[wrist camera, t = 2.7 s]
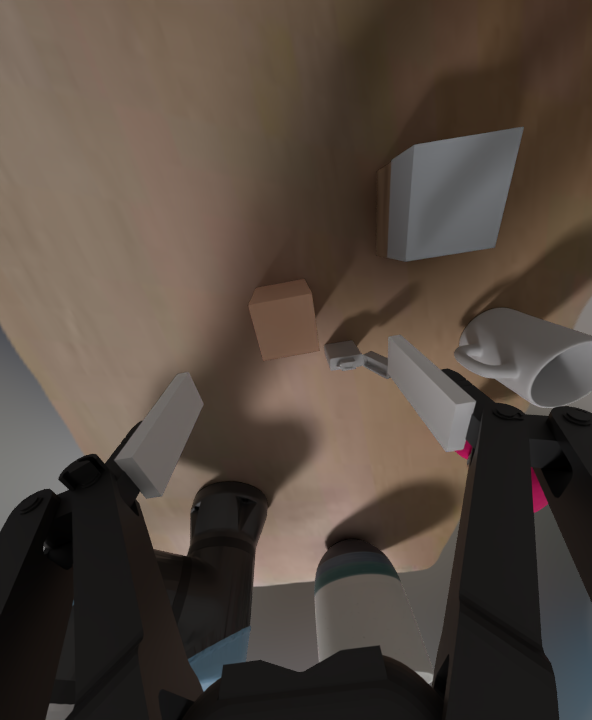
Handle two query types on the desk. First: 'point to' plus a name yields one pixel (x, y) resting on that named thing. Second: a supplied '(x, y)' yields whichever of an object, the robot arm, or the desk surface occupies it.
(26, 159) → the desk surface
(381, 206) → the tower base
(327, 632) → the planter
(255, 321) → the clay block
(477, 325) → the mug
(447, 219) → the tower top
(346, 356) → the lighter
